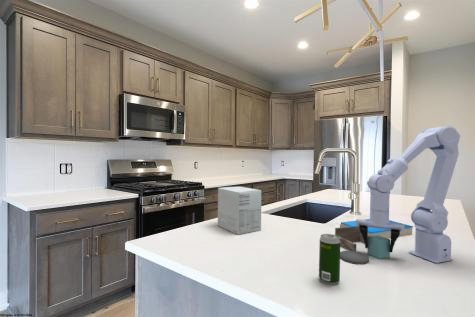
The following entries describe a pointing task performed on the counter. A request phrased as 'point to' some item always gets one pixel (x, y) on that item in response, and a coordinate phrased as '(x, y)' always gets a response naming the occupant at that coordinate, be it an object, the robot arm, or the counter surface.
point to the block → (378, 246)
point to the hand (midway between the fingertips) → (378, 249)
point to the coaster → (354, 257)
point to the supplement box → (239, 209)
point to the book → (378, 231)
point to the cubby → (349, 237)
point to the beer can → (329, 259)
